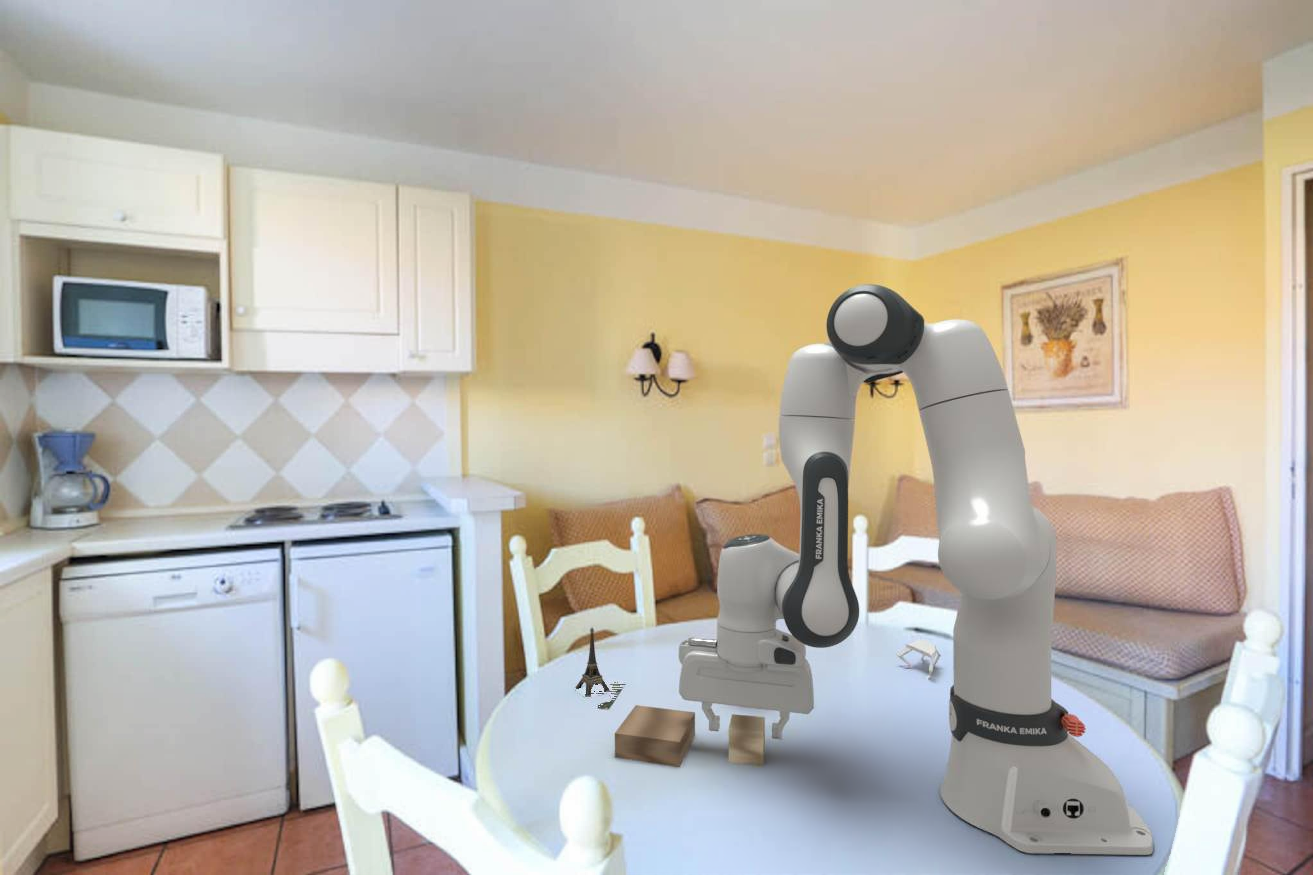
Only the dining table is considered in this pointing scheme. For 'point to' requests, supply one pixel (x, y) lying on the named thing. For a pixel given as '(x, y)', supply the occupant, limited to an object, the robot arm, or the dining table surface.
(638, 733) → the walnut block
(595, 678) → the eiffel tower figurine
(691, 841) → the dining table surface
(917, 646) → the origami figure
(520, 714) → the dining table surface
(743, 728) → the maple cube
